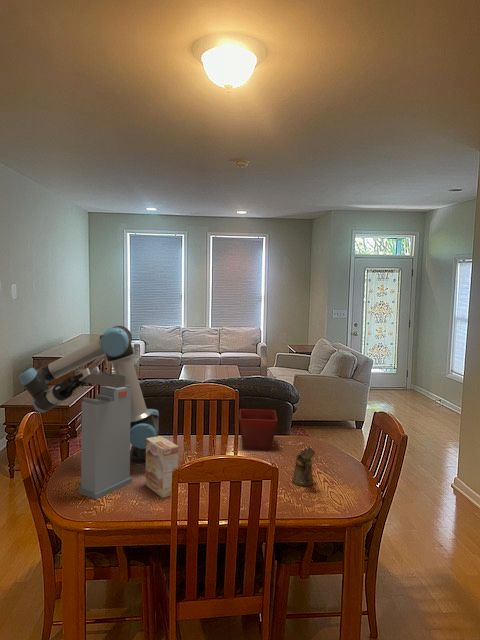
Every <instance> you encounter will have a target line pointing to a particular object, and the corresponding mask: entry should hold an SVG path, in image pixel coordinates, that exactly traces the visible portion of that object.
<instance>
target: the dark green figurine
mask: <svg viewBox="0 0 480 640" xmlns="http://www.w3.org/2000/svg"><path fill="white" fill-rule="evenodd" d="M315 454H316V453H315V450H314V449H312V448H309V447H308V448H305V449H303V450H301V451H300V453H299V454H297V455H296V458H295V466H294V471H293V476H292V479H291V482H292V483H293V484H294V485H295V486H298V487H310V486H312V485H313V484H314V478H313V469H312V466H313V461H312V458H313V457H314V456H315Z"/></svg>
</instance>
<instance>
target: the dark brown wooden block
mask: <svg viewBox="0 0 480 640" xmlns="http://www.w3.org/2000/svg"><path fill="white" fill-rule="evenodd" d="M85 369H86V368H85ZM85 369H84V368H81V369H75V370H74V376H75V375H76V376H77V374H79V373H80V372H82V371H83V370H85ZM89 372H90V375H89V376H87V377H86V378H84V379H82V380H81V382H87V384H88V383H89V384H93V385H100V386H105V387H107V386H109V387H114V388H120V387H124V386H125V376H122V375H116V374H115V373H108V372H103V371H100V372H98V371H92V369H89ZM78 381H79V380H78Z"/></svg>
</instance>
